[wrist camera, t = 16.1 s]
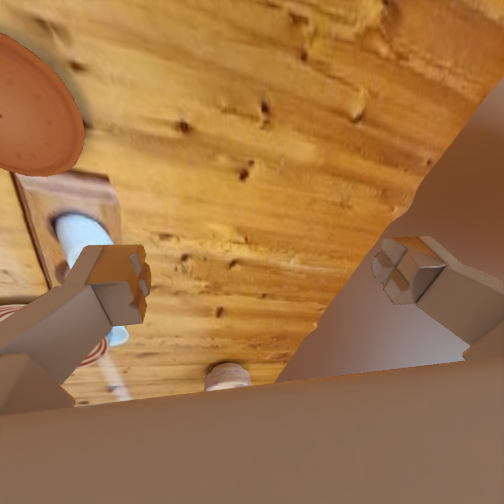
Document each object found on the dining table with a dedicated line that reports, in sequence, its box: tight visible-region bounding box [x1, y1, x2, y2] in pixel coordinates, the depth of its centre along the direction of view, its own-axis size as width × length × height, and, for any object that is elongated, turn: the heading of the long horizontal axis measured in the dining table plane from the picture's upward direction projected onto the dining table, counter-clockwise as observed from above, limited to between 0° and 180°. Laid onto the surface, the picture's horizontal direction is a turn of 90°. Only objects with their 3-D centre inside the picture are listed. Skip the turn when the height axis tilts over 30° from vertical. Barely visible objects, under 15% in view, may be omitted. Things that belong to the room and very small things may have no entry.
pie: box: [0, 33, 85, 177], centre depth 30 cm, size 15×16×5 cm
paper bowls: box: [204, 363, 251, 391], centre depth 84 cm, size 15×15×8 cm
